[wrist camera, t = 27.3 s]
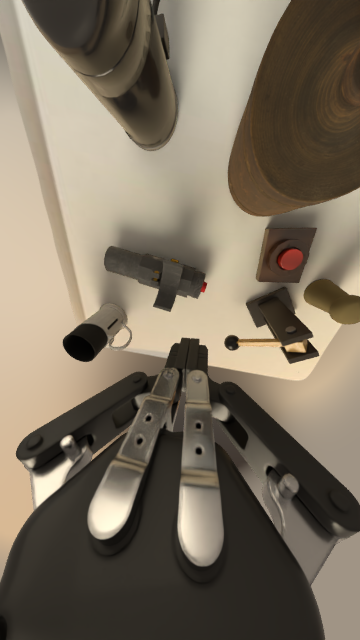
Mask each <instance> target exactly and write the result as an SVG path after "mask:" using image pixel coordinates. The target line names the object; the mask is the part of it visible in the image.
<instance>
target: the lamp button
mask: <svg viewBox="0 0 360 640" xmlns="http://www.w3.org/2000/svg"><path fill="white" fill-rule="evenodd" d="M302 260H303V254H302V252H301V251H300V250H298V249H294V248H288V249H286V250H284V251H282V252H281V253H280V255H279V257H278V264H279V266H280V267H282V268H284V269H286V270H292V269H295V268H297V267H298V266H299V265H300V264H301V262H302Z"/></svg>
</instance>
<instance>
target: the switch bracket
mask: <svg viewBox="0 0 360 640" xmlns="http://www.w3.org/2000/svg"><path fill="white" fill-rule="evenodd" d="M246 305H247V308H248V310H249V312H250V314H251V316H252V318H253V321H254V323H255V325H256V327H257V328H258V327H260V326H263V325H266V324H267V326H268V328H269V329H270V331H271V333H272V334H273V336H274V338H275V339H278V340H279V341H280V343H281V345H282V346H286V345H290V344H293V343H296V342H299V341H303V340H306V339H309V338H312V337H313V334H312V332H311V331H310V330H309V329H308V328H307V327H306V326H305V325H304V324H303V323H302V322H301V321H300V320H299V319H298V318H297V317H296V316H295V315H294V314H295V311H294V308H293V305H292V302H291V299H290V296H289V293H288V290H287V288H286V287H283V288H281V289H278V290H276V291H274V292H271V293H269V294H267V295H264V296H262V297H260V298H257V299H255V300H253V301H250V302H248V303H246ZM307 342H308V344H307V350H306V352H287V351H286V349H285V347H280V348H281V350H282V352H283V353H284V355H285V357H286V358H287V360H288V362H289V363H290V364H291V363H295V362H299V361H303V360H306V359H310V358H314V357H317V356H319V353H318V351H317V350H316V349H315V348H314V346H313V345H312V344H311V343H310V342H309V341H308V340H307Z"/></svg>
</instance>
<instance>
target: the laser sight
mask: <svg viewBox="0 0 360 640" xmlns="http://www.w3.org/2000/svg"><path fill="white" fill-rule="evenodd" d="M178 262H179V261H178V260H175V259H171V261H169V260H165V259H162V258H159V257H155V256H152V255H149V254H145V255H140V254H137V253H133V252H130V251H127V250H124V249H120V248H117V247H114V246H110V247H109V248H108V249H107V251H106V254H105V258H104V265H105V268H106V270H107V271H110V272H113V273H117V274H120V275H123V276H127V277H130V278H133V279H136V280H138V282H139V283H141V284H144V285H147V286H150V287H154V288H157V289H159V291H158V295H157V298H156V301H155V303H154V304H153V307H156V308H159V309H163V310H166V311H169V312H171V309H172V307H173V304H174V301H175V298H176V294H177V295H180V296H183V297H186V298H187V295H189V296H192V297H193V298H197V299H198V297H199V294H200V292H204V291H205V289H206V286H207V283H206V282H204V279H205V275H206V274H205V273H202V272H196V271H195V268H192V267H188V266H185V265H182V264H179V263H178Z"/></svg>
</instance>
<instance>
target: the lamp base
mask: <svg viewBox="0 0 360 640" xmlns="http://www.w3.org/2000/svg"><path fill="white" fill-rule="evenodd" d="M316 229H317V228H276V229H265V234H264V239H263V244H262V249H261V254H260V259H259V264H258V269H257V274H256V279H257V280H258V282H291V283H299V281H300V278H301V275H302V272H303V269H304V266H305V264H306V263H307V260H308V256H309V250H310V247H311V244H312V241H313V238H314V235H315V232H316ZM288 248H294V249H298V250H300V251H301V252H302V254H303V260H302V262H301V264H300V265H299V266H298V267H297V268H295V269H292V270H286V269H284V268H282V267H280V266H279V264H278V257H279V255H280V253H281V252H282V251H284V250H286V249H288Z"/></svg>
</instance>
